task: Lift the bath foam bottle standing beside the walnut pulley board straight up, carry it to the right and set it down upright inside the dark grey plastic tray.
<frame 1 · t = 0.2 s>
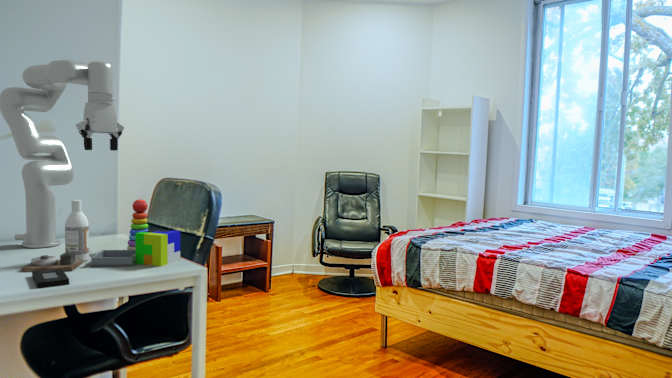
hand: (101, 150, 172), 36 cm above the table, tool pointing down, fingers open, 9 cm apart
puzzle toy: (158, 262, 168), on the table
tray: (116, 262, 165), on the table
bath foam: (77, 261, 166), on the table
stacking toy: (138, 250, 185), on the table
pulley board: (53, 267, 156), on the table
vhs tape: (50, 282, 142), on the table
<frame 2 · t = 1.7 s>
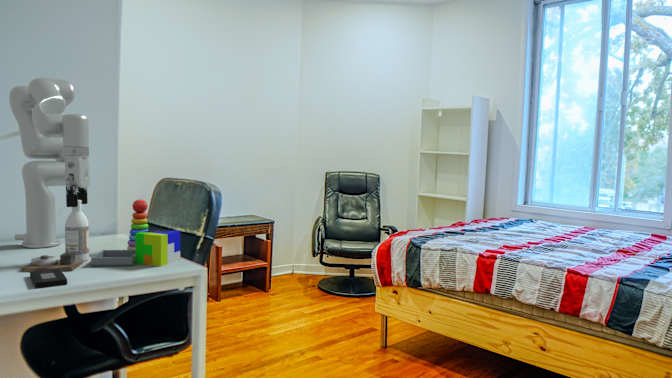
hand: (77, 205, 164), 18 cm above the table, tool pointing down, fingers open, 9 cm apart
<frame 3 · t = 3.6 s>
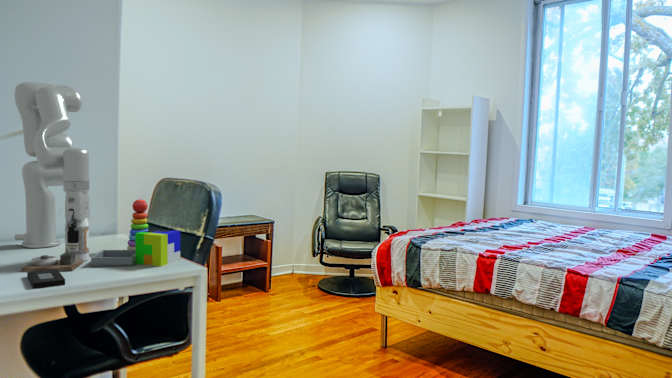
hand: (77, 240, 166), 7 cm above the table, tool pointing down, fingers closed on bath foam, 7 cm apart
bath foam: (77, 261, 166), on the table, touching gripper
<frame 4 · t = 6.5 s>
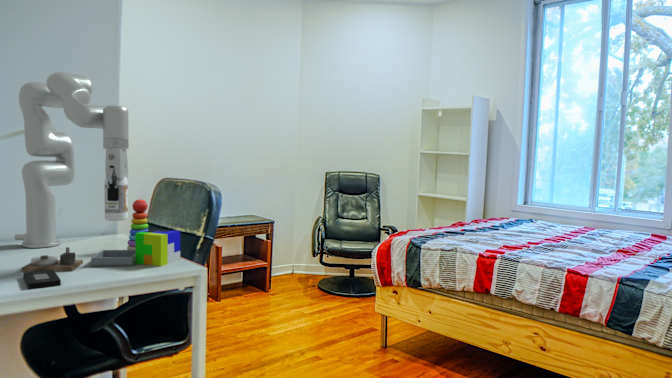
hand: (116, 199, 164), 21 cm above the table, tool pointing down, fingers closed on bath foam, 7 cm apart
bath foam: (116, 220, 164), point 14 cm above the table, touching gripper
vhs tape: (41, 283, 140), on the table
everything else where it was.
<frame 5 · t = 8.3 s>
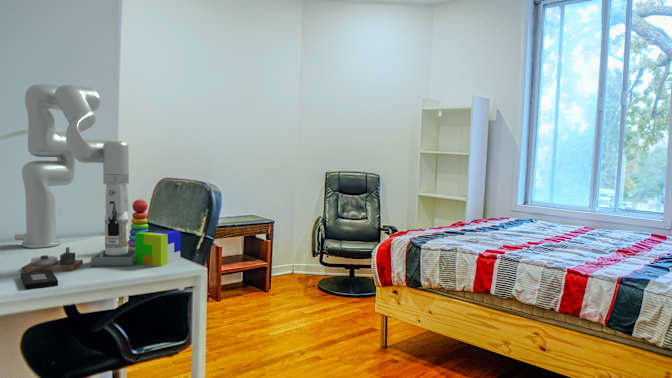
hand: (116, 233, 165), 10 cm above the table, tool pointing down, fingers closed on bath foam, 7 cm apart
bath foam: (116, 254, 165), point 3 cm above the table, touching gripper
when the fingers open (8 cm above the table, at t = 9.6 s): bath foam stays where it is, resting on tray.
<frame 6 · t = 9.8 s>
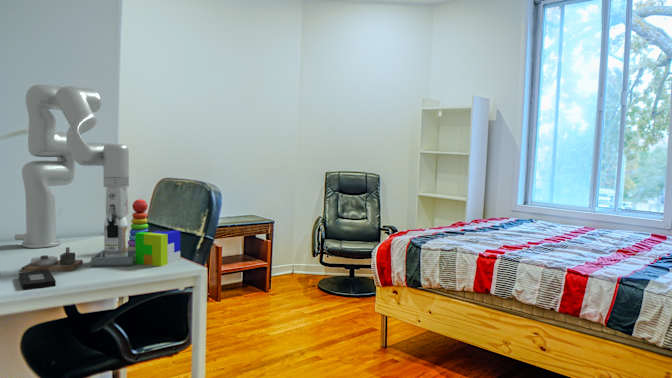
hand: (116, 235, 165), 9 cm above the table, tool pointing down, fingers open, 9 cm apart
bath foam: (116, 260, 166), resting on tray
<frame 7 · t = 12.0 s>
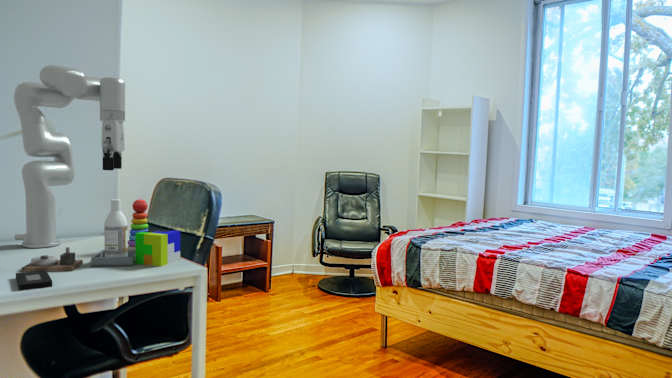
hand: (112, 169, 165), 30 cm above the table, tool pointing down, fingers open, 9 cm apart
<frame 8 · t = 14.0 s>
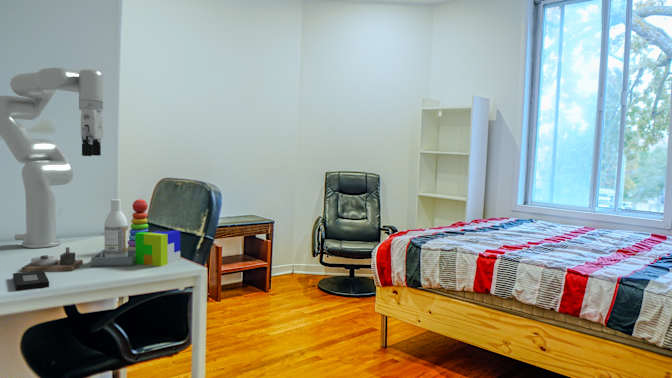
hand: (91, 155, 176), 34 cm above the table, tool pointing down, fingers open, 9 cm apart
at the end: bath foam inside the target area on the tray (0.4 cm from its centre), point 0.4 cm above the tray's base; bath foam tilted 0°; the gripper is holding nothing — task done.
